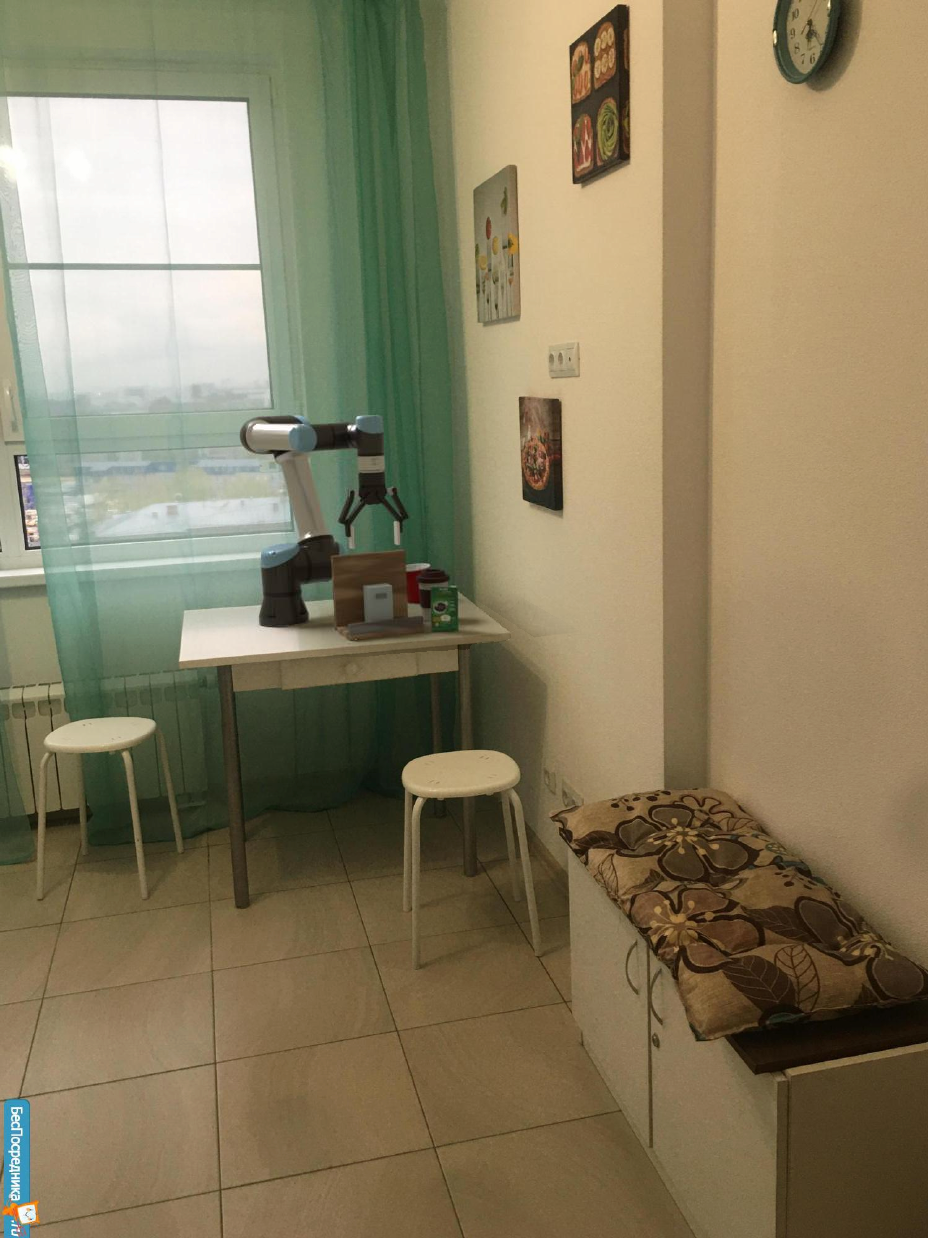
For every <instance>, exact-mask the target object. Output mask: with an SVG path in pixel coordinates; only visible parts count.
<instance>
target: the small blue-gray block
mask: <svg viewBox="0 0 928 1238" xmlns="http://www.w3.org/2000/svg"><path fill="white" fill-rule="evenodd" d="M363 592H364V613H365V622H370V621H379V620H388V619H393V597H392V586H391V585H389V584H387V583H383V584H373V585H363Z"/></svg>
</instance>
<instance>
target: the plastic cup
mask: <svg viewBox="0 0 928 1238" xmlns="http://www.w3.org/2000/svg"><path fill="white" fill-rule="evenodd" d="M430 567H431V564H430V563H412V564H411V563H410V564H406V579H407V604H408V603H409V604H420V597H419V582H417V576H418V575H420V574H421V572H422V571H423V570H427V569H430Z"/></svg>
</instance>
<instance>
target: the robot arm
mask: <svg viewBox="0 0 928 1238" xmlns="http://www.w3.org/2000/svg"><path fill="white" fill-rule="evenodd" d="M384 431H385V429H384V423H383V417H382V416H381V415H379V414H378V415H377V414H375V415H373V414H369V415H366V414H365V415H357V416H356V418H355V422H354V421H353V422H352V421H342V422H329V423H328V422H327V423H311V422H310V421H309V420H308V419H307V418H306V417H304V416H302V415H297V414H295V415H294V414H285V415H271V416H270V415H269V416H268V415H267V416H263V415H262V416H256V417H253V418H250V419H249V420H246V421H245V422H244V423H243V425H242V426H241V428H240V430H239V441H240V443H241V445H242V446H243V448H244V449H245V450H246V451H248V452H249V453H252V454H255V455H273V458H274V462H275V464H278V466H279V465H280V467H281V469H282V474H283V478H284V482H285V486H286V490H287V494H288V497H289V501H290V505H291V509H292V513H293V517H294V521H295V524H296V528H297V533H298V536H299V538H298V540H297V542H285V543H278V544H274V545H271V546H268V547H266V548H264V549H263V550H262V551H261V554H260V571H261V572H260V573H261V582H262V583H261V585H262V597H263V598H262V602H261V604H260V605H261V606H260V610H259V614H258V623H259V624H260V625H262V626H265V627H288V626H291V627H292V626H298V625H301V624H306V623H307V622H309V621H310V613H309V610H308V607H307V605H306V602H305V600H304V597H303V593H302V591H303V590H302V586H304V585H310V584H311V585H312V584H318V583H323V582H325V583H329V582H331V581H332V566H331V556H336V555H347V554H346V549H345V548H344V546H343V544H342V543H340V542H337V541H335V538H334V535H333V534H332V533H331V532H329V531H328V530H327V528H326V523H325V519H324V516H323V512H322V508H321V504H320V499H319V496H318V493H317V492H318V491H317V488H316V485H315V481H314V478H313V477H314V476H313V473H312V470H311V467H310V461H309V458H310V457H311V455H312V452H322V451H339V450H356V451H357V452H356V453H357V455H356V456H357V470H358V471H359V472H358V475H357V477H358V490H354V489H348V490H347V498H346V500H345V503H344V505H343V507H342V510H341V513H340V514H339V517H338V520H337V522H338V524H342V525H343V526H344V531H345V532H344V534H345V537H346V538H348V546H349V547H348V548H349V549H351V550H355V549H356V547H355V529H354V528H355V527H354V525H352V523H353V522H354V521H355V520H356V518H357V517H358V516H359V514H360V512H361V511H362V510H363V509H364V508H365V507H366V506H367V505H368V506H372V505H380V504H381V505H382V506H383V507H384V508H385V509H386V510H387V511H388V512H389V513H390V515H391V516H392V517H393V518H394V519H395V521H393V535H394V545H397V546H401V534H402V533H403V531H404V529H403V528H404V527H403V526H404V525H403V522H404V521H405V520H408V519H409V514H408V512H407V510H406V508H405V506H404V504H403V503H402V501H401V499H400V497H399V495H398V490H397V487H394V486H390V487H389V488H387V487H386V473H385V471H384V470H385V469H386V468H385V467H386V466H385V465H386V464H385V441H384V440H385V439H384V437H385V436H384ZM387 494H389V496H391V499H392V501H393V503H394V504H395V506H396V508H397V511H396V509H395V508H394V507H393V506H392V505H391V503H390V502H389V501H388V499H387V498H386V496H387ZM357 496H358V497H359V500H358V501H357V503H356V505H355V507H354V508H353V510H351V508H352V505H353V504H354V501H355V499H356V498H357ZM350 510H351V512H350ZM349 512H350V514H349Z"/></svg>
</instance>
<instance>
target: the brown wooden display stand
mask: <svg viewBox="0 0 928 1238" xmlns="http://www.w3.org/2000/svg"><path fill="white" fill-rule="evenodd" d="M406 559H407V558H406V550H405V549H394V550H384V551H383V550H382V551H373V552H360V553H349V554H346V555H336V556H331V566H332V596H333V597H332V598H333V599H332V600H333V615H334V617H333V618H334V631H335V632H336V631H337V632H336V633H338V634H339V635H341V636H342V637H344V638H345V637H346V638H345V639H347V640H349V641H351V640H353V641H356V640H355V639H361V640H367V639H366V638H369V639H374V638H373V637H378V638H382V637H381V636H386V637H392V635H394V636H398V635H397V634H403V635H408V634H409V633H411V634H417V633H416V632H419V633H424V632H425V624H424V619H423V616H422V615H416V616H409V606H408V602H407V579H406V565H407V561H406ZM383 583H387V584H389V585H391V586H392V597H393V619H388V620H379V621H370V622H365V613H364V592H363V585H373V584H383Z"/></svg>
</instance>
